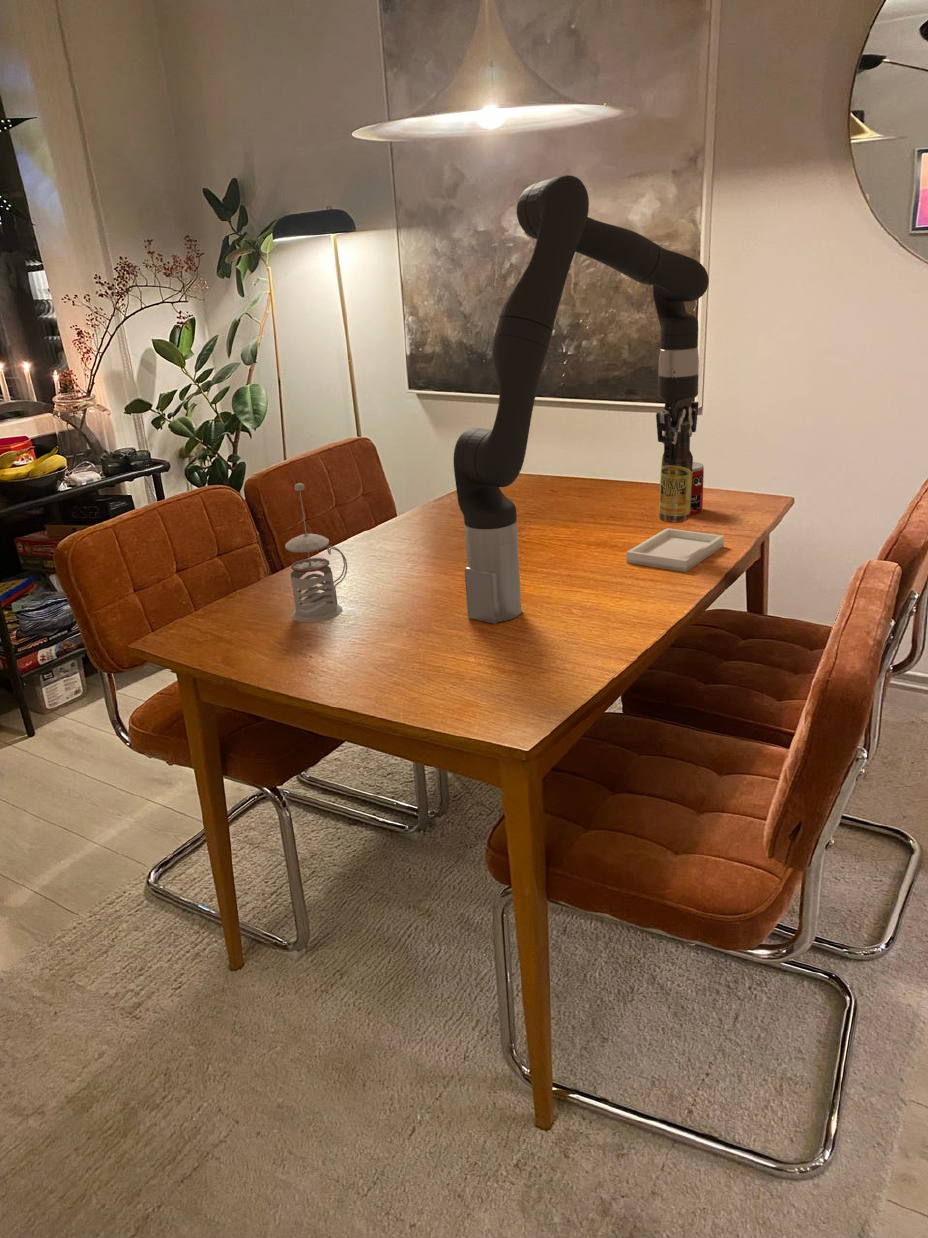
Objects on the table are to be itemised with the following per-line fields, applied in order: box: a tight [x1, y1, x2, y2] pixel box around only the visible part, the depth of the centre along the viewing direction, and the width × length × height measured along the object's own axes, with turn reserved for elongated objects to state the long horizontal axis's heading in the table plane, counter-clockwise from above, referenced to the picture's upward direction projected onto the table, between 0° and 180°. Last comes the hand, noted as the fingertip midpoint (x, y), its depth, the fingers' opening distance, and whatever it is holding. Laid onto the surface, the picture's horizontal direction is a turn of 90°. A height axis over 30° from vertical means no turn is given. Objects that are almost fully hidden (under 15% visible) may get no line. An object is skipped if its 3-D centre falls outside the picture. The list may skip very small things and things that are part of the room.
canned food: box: [689, 461, 705, 516], centre depth 219 cm, size 8×8×11 cm
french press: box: [285, 482, 348, 624], centre depth 171 cm, size 10×12×25 cm
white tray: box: [626, 527, 725, 573], centre depth 192 cm, size 18×13×2 cm
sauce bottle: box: [658, 421, 694, 524], centre depth 185 cm, size 7×6×20 cm
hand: (676, 458), depth 185 cm, fingers closed on sauce bottle, 5 cm apart
